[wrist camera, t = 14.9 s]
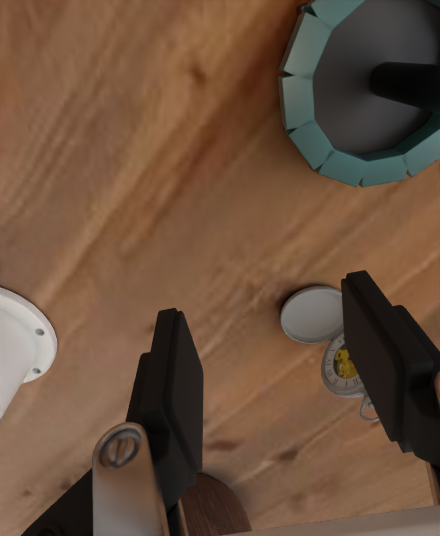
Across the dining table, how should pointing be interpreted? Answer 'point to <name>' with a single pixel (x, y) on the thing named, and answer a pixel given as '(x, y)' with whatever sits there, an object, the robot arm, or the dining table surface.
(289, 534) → the robot arm
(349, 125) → the stand
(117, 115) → the dining table surface
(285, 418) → the dining table surface
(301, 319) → the pocket watch
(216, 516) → the wooden bowl
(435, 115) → the ring
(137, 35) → the dining table surface
